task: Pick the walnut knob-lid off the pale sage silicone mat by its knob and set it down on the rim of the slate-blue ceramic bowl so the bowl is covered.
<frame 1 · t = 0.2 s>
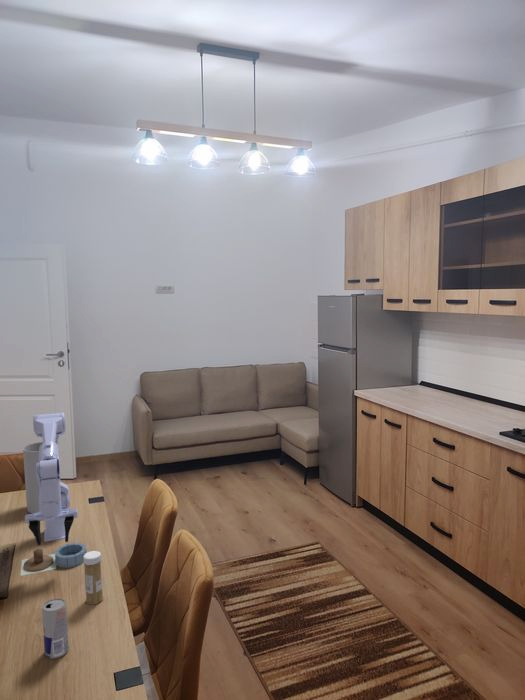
hand: (53, 542, 158), 10 cm above the table, fingers open, 7 cm apart
cylinder vase: (44, 508, 206), on the table
mat: (38, 565, 164), on the table
sprinkles bottle: (94, 600, 145), on the table
bowl: (71, 560, 166), on the table
energy drink: (56, 652, 125), on the table
lid: (38, 564, 164), resting on mat
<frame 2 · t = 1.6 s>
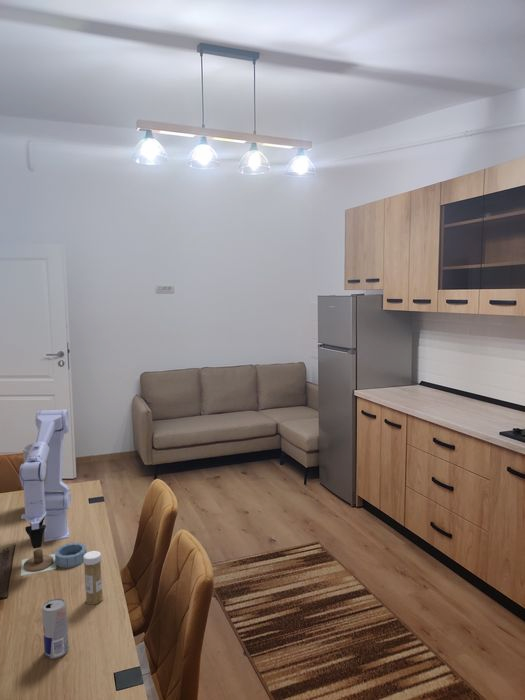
hand: (37, 541, 163), 8 cm above the table, fingers open, 7 cm apart
nothing on the table moved.
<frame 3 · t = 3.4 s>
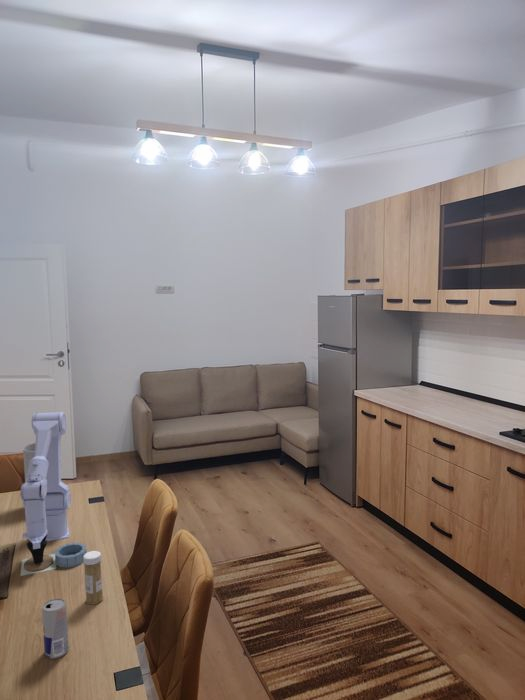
hand: (38, 560, 163), 2 cm above the table, fingers closed on lid, 3 cm apart
lid: (38, 564, 164), resting on mat, touching gripper
everything else where it was.
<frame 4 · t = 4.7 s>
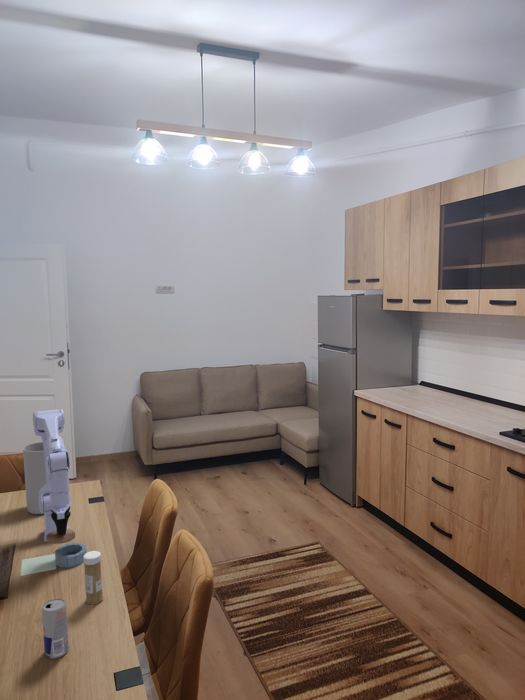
hand: (62, 531, 164), 10 cm above the table, fingers closed on lid, 3 cm apart
lid: (60, 537, 164), point 8 cm above the table, touching gripper
everything else where it was.
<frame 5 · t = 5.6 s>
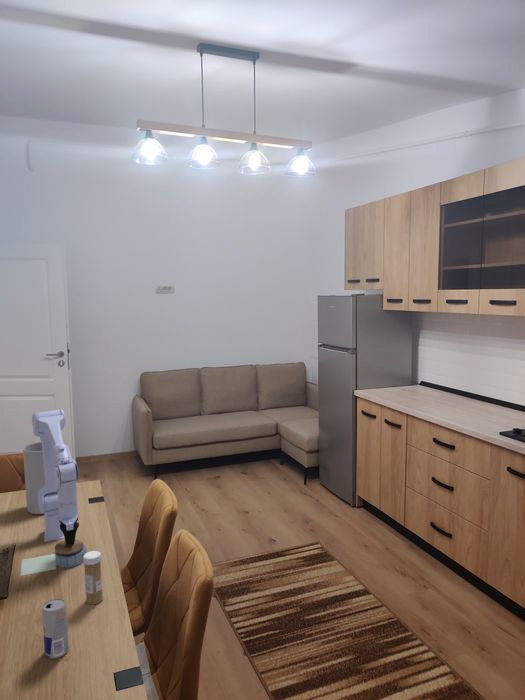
hand: (70, 542, 165), 6 cm above the table, fingers closed on lid, 3 cm apart
lid: (69, 548, 166), point 4 cm above the table, touching gripper
everything else where it was.
when the fingers open (6 cm above the table, at t = 6.3 s): lid stays where it is, resting on bowl.
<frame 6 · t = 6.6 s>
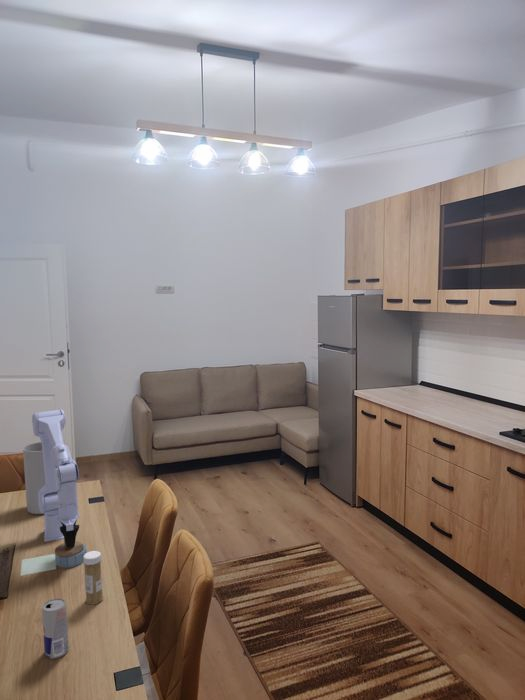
hand: (70, 542, 166), 6 cm above the table, fingers open, 5 cm apart
lid: (69, 550, 166), point 3 cm above the table, touching bowl
everything else where it was.
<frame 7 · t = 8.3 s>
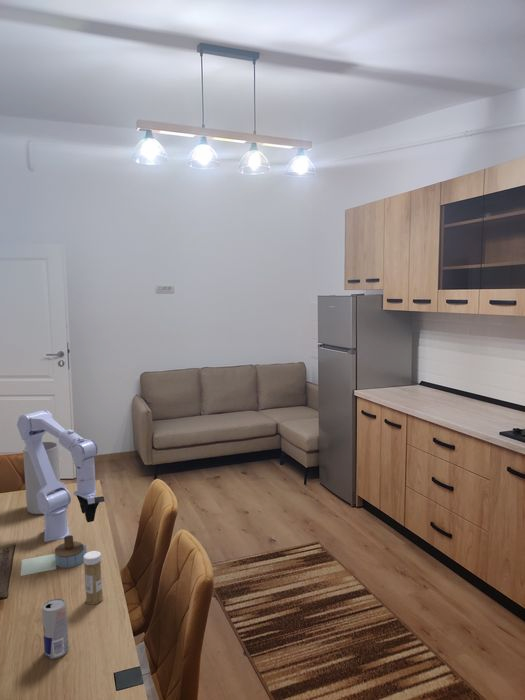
hand: (87, 517, 174), 10 cm above the table, fingers open, 7 cm apart
nothing on the table moved.
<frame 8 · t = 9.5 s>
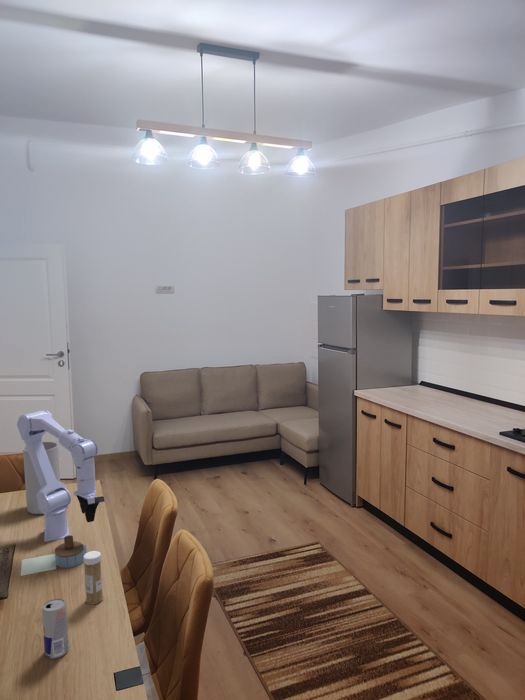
hand: (87, 517, 174), 10 cm above the table, fingers open, 7 cm apart
nothing on the table moved.
at the end: lid 0.4 cm off-centre on the bowl, point 3.5 cm above the bowl's base; lid tilted 0°; the gripper is holding nothing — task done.
